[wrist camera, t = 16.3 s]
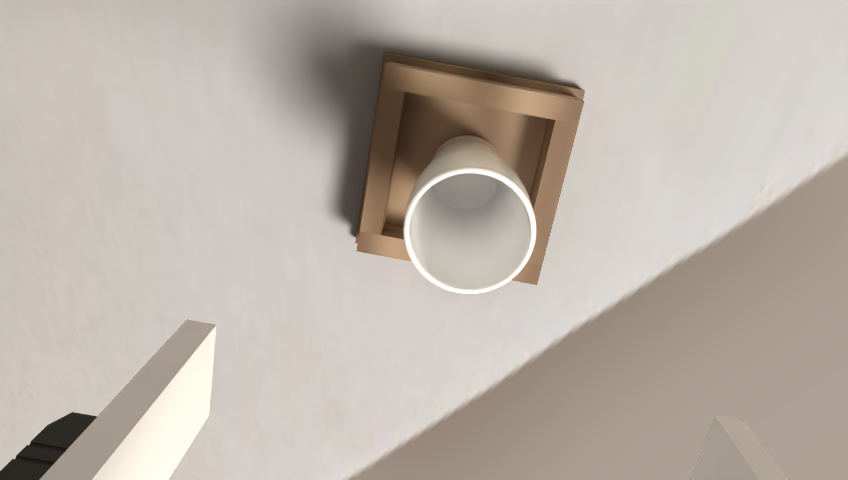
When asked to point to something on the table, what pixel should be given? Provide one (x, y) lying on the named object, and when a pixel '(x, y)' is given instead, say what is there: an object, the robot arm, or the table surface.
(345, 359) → the table surface
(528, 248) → the drinking glass
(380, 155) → the walnut dock
